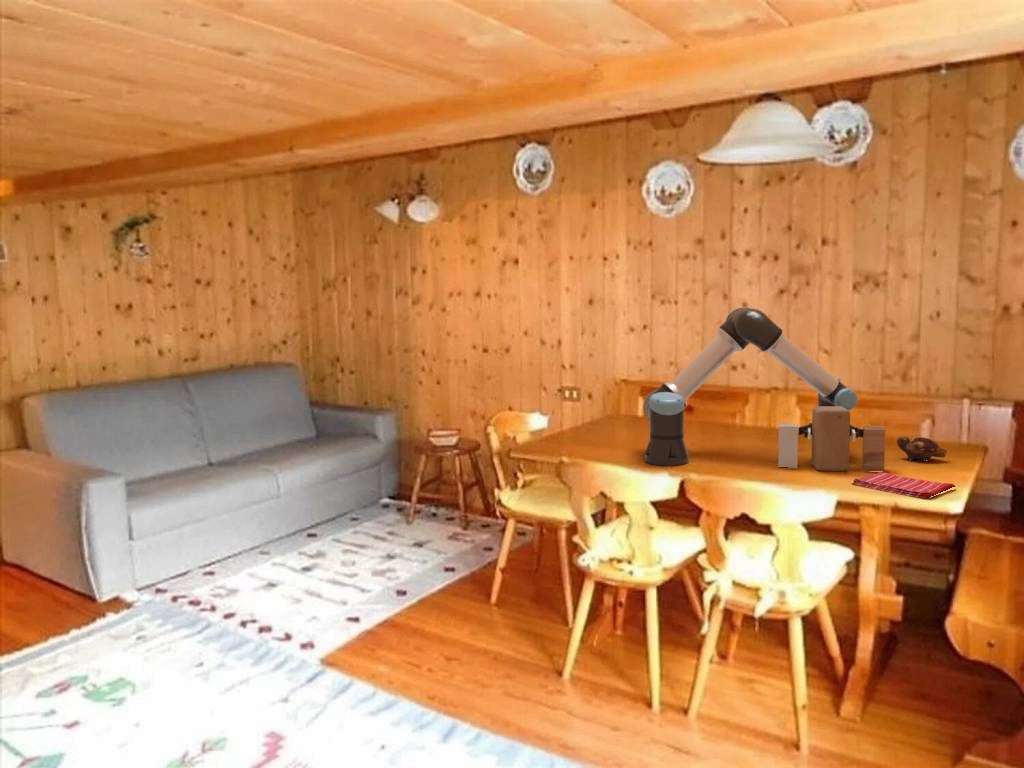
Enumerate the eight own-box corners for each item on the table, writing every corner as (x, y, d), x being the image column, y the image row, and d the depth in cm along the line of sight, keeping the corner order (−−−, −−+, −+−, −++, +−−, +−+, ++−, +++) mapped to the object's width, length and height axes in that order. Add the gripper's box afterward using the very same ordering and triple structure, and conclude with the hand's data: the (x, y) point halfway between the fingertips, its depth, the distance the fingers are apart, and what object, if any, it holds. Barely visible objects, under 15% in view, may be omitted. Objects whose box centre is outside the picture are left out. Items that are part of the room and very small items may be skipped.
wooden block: (849, 471, 261) (851, 410, 259) (817, 471, 263) (818, 410, 260) (842, 464, 271) (843, 405, 268) (810, 464, 273) (811, 405, 270)
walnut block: (883, 472, 259) (885, 429, 257) (863, 471, 261) (864, 429, 259) (882, 468, 264) (883, 426, 262) (862, 467, 266) (863, 425, 265)
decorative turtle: (894, 455, 282) (896, 433, 281) (943, 461, 276) (946, 438, 275) (896, 460, 273) (898, 437, 272) (946, 466, 267) (949, 442, 266)
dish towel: (928, 502, 227) (929, 493, 227) (850, 486, 246) (850, 477, 245) (958, 491, 237) (958, 482, 237) (880, 477, 256) (880, 468, 255)
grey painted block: (797, 468, 268) (798, 426, 266) (778, 467, 270) (778, 426, 268) (797, 464, 273) (798, 423, 271) (778, 463, 275) (779, 423, 273)
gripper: (867, 437, 280) (873, 449, 260) (791, 434, 288) (790, 446, 269) (868, 415, 279) (873, 426, 259) (791, 413, 287) (791, 423, 268)
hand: (831, 436), depth 264 cm, fingers open, 13 cm apart
